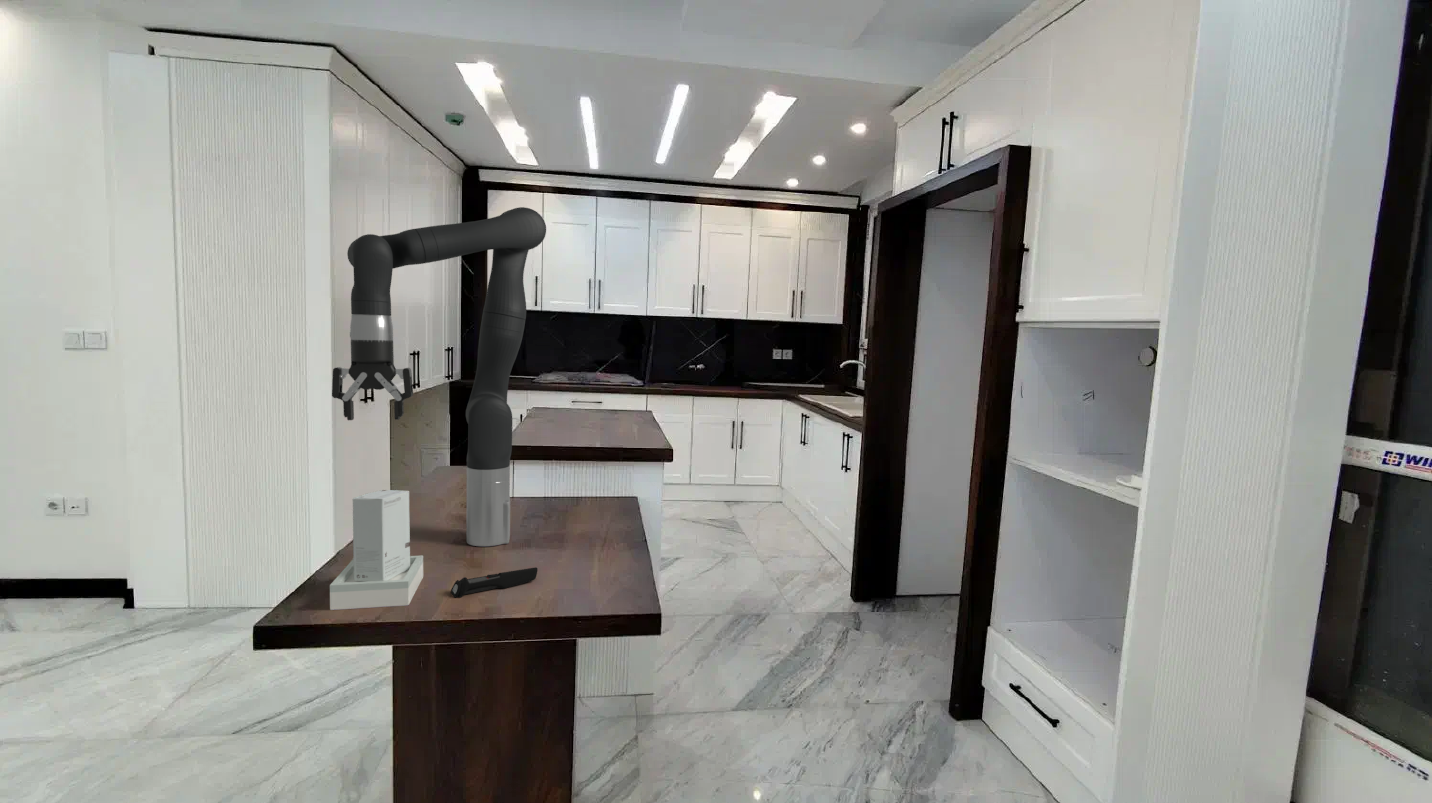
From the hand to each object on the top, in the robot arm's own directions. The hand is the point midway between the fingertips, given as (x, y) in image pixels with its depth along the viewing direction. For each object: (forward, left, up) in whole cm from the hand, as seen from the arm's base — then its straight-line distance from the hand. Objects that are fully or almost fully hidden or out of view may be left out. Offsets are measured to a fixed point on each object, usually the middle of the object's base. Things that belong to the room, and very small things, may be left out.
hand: (374, 419), depth 132 cm
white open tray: (-5, +19, -29) cm, 35 cm away
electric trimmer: (-24, +19, -29) cm, 43 cm away
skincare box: (-5, +18, -26) cm, 32 cm away
